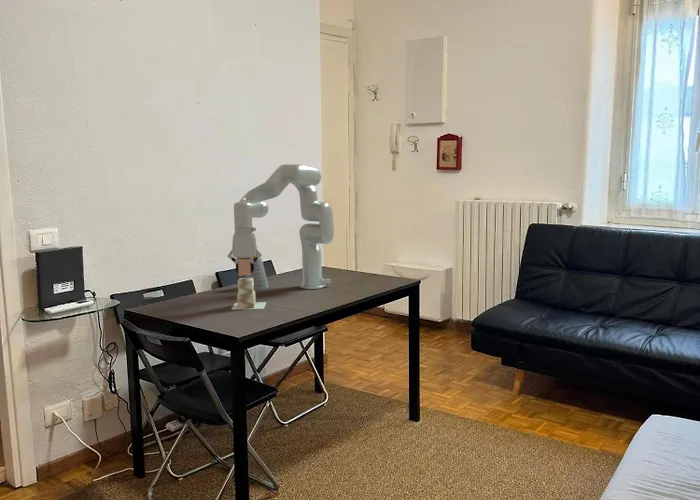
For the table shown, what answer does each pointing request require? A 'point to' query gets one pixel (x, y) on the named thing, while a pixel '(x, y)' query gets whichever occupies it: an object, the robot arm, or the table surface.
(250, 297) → the tower base
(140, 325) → the table surface
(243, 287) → the tower mid
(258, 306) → the mat
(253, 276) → the soap bottle
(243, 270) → the top block
